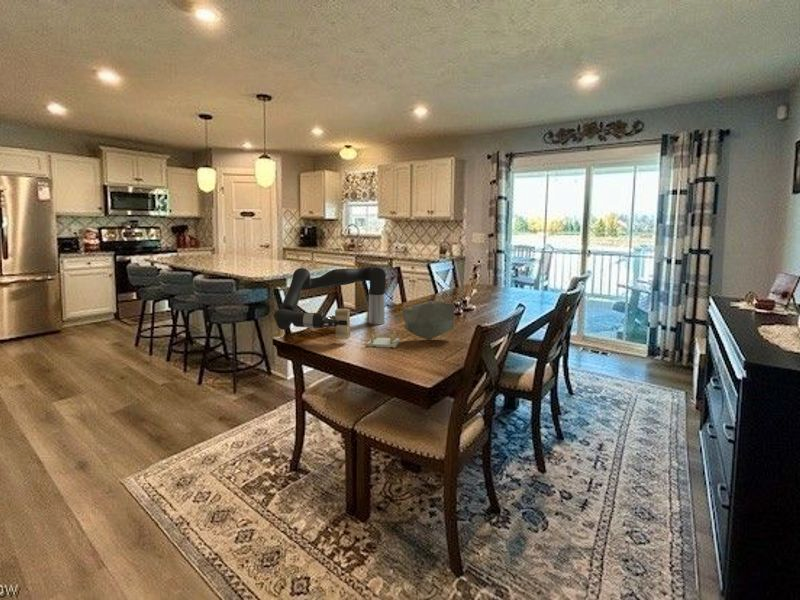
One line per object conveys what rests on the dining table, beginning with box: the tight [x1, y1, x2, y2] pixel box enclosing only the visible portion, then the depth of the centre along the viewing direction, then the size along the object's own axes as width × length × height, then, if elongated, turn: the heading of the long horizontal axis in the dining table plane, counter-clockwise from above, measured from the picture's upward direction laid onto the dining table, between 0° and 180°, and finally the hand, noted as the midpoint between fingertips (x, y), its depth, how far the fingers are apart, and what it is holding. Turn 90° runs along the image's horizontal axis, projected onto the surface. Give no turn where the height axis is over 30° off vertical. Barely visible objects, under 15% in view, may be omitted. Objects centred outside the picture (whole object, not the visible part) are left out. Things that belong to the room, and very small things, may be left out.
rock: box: [401, 300, 456, 340], centre depth 218 cm, size 27×6×20 cm, turn 98°
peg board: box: [366, 330, 400, 349], centre depth 212 cm, size 12×14×5 cm
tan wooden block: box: [334, 308, 351, 340], centre depth 211 cm, size 4×6×14 cm, turn 81°
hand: (348, 321), depth 210 cm, fingers closed on tan wooden block, 4 cm apart
